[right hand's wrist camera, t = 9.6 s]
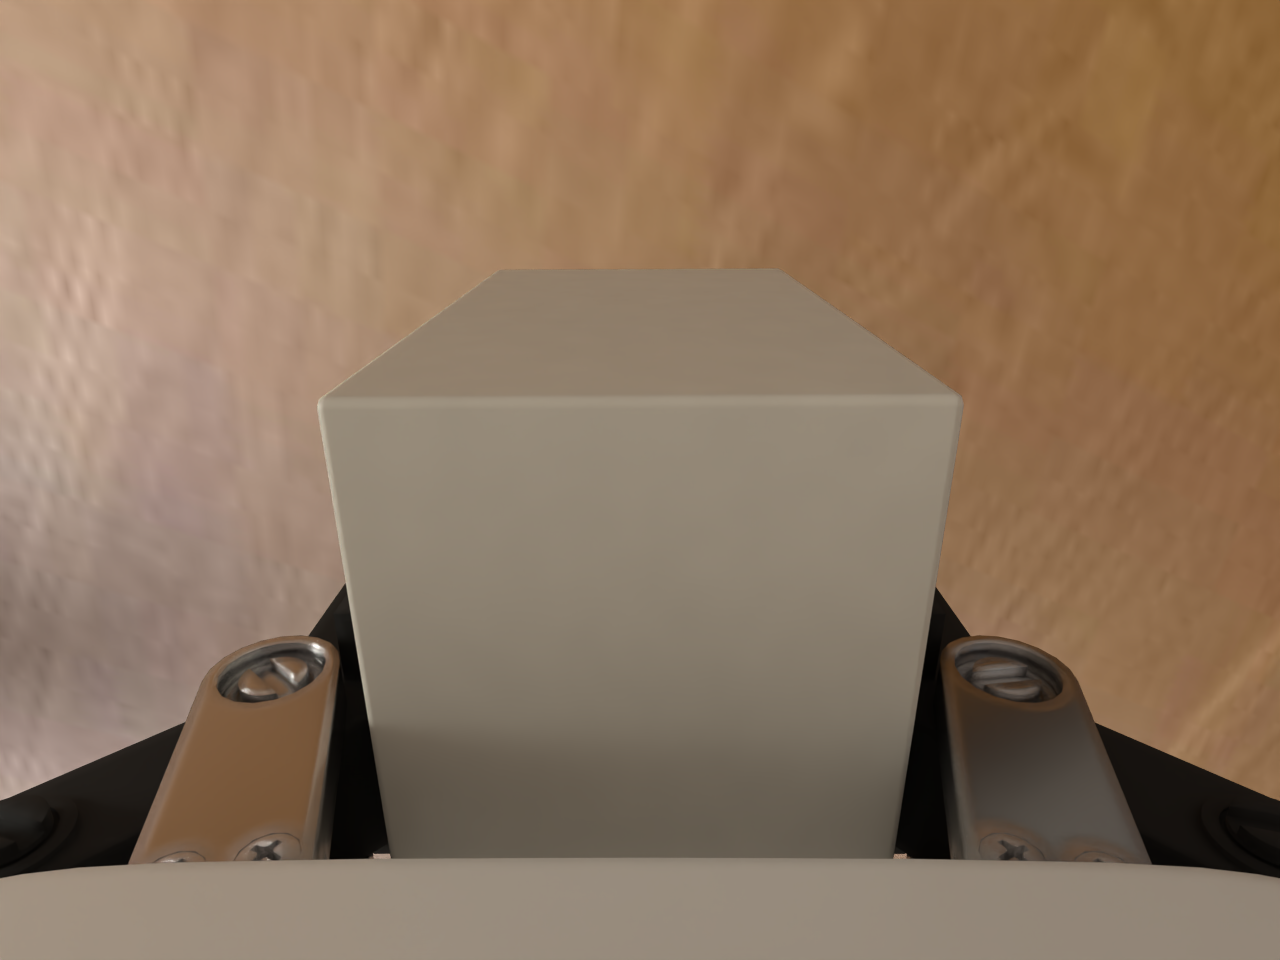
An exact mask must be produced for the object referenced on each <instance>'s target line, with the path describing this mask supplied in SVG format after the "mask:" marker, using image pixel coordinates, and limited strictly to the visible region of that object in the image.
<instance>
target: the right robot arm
mask: <svg viewBox="0 0 1280 960" xmlns="http://www.w3.org/2000/svg"><path fill="white" fill-rule="evenodd" d="M373 853H374V854H390V850H389V843H388V837H387V831H386V825H385V819H384V813H383V807H382V801H381V795H380V789H379V782H378V776H377V770H376V764H375V758H374V752H373V746H372V740H371V734H370V728H369V721H368V715H367V709H366V703H365V697H364V691H363V685H362V679H361V673H360V667H359V661H358V654H357V648H356V642H355V636H354V630H353V624H352V618H351V612H350V606H349V600H348V593H347V587H346V583H345V585H344V586H343V588H342V589H341V590H340V592H339V593H338V595H337V596H336V598H335V599H334V600H333V602H332V603H331V605H330V606H329V608H328V609H327V610H326V612H325V613H324V615H323V616H322V617H321V619H320V620H319V622H318V623H317V625H316V626H315V627H314V629H313V630H312V632H311V633H310V634H309V636H284V637H278V638H273V639H268V640H263V641H260V642H257V643H254V644H252V645H249V646H246V647H243V648H241V649H239V650H237V651H235V652H234V653H232V654H230V655H228V656H226V657H224V658H223V659H222V660H221V661H219V662H218V663H217V664H216V665H215V666H213V667H212V668H211V669H210V670H209V672H208V673H207V675H206V676H205V678H204V679H203V681H202V683H201V685H200V688H199V690H198V692H197V695H196V697H195V700H194V702H193V705H192V707H191V710H190V712H189V715H188V717H187V720H186V722H184V723H182V724H180V725H177V726H175V727H173V728H170V729H168V730H166V731H163V732H161V733H159V734H157V735H154V736H152V737H150V738H147V739H145V740H143V741H140V742H138V743H136V744H133V745H131V746H129V747H126V748H124V749H122V750H119V751H117V752H115V753H112V754H110V755H108V756H105V757H103V758H101V759H98V760H96V761H94V762H91V763H89V764H87V765H84V766H82V767H80V768H77V769H75V770H73V771H70V772H68V773H66V774H63V775H61V776H59V777H56V778H54V779H52V780H49V781H47V782H45V783H43V784H40V785H38V786H36V787H33V788H31V789H29V790H26V791H24V792H22V793H19V794H17V795H15V796H12V797H10V798H7V799H4V800H1V801H0V960H1280V801H1278V800H1276V799H1272V798H1269V797H1267V796H1265V795H1262V794H1260V793H1258V792H1255V791H1253V790H1251V789H1248V788H1246V787H1244V786H1241V785H1239V784H1237V783H1234V782H1232V781H1230V780H1227V779H1225V778H1223V777H1220V776H1218V775H1216V774H1213V773H1211V772H1209V771H1206V770H1204V769H1202V768H1199V767H1197V766H1195V765H1192V764H1190V763H1188V762H1186V761H1183V760H1181V759H1179V758H1176V757H1174V756H1172V755H1169V754H1167V753H1165V752H1162V751H1160V750H1158V749H1155V748H1153V747H1151V746H1148V745H1146V744H1144V743H1141V742H1139V741H1137V740H1134V739H1132V738H1130V737H1127V736H1125V735H1123V734H1120V733H1118V732H1116V731H1113V730H1111V729H1109V728H1106V727H1104V726H1102V725H1099V724H1097V723H1095V722H1094V720H1093V717H1092V715H1091V712H1090V710H1089V707H1088V705H1087V702H1086V700H1085V697H1084V695H1083V692H1082V690H1081V688H1080V685H1079V683H1078V681H1077V679H1076V678H1075V676H1074V675H1073V673H1072V672H1071V670H1070V669H1069V668H1068V667H1067V666H1065V665H1064V664H1063V663H1062V662H1061V661H1059V660H1058V659H1057V658H1056V657H1054V656H1052V655H1050V654H1048V653H1046V652H1045V651H1043V650H1041V649H1039V648H1037V647H1034V646H1031V645H1028V644H1026V643H1023V642H1020V641H1017V640H1012V639H1007V638H1002V637H996V636H970V635H969V633H968V632H967V630H966V629H965V628H964V626H963V625H962V623H961V622H960V621H959V619H958V618H957V616H956V615H955V613H954V612H953V611H952V609H951V608H950V606H949V605H948V604H947V602H946V601H945V599H944V598H943V596H942V595H941V594H940V592H939V591H938V589H937V588H936V587H935V593H934V600H933V606H932V612H931V619H930V625H929V632H928V638H927V645H926V651H925V657H924V664H923V670H922V677H921V683H920V690H919V696H918V702H917V709H916V715H915V722H914V728H913V734H912V741H911V747H910V754H909V760H908V767H907V773H906V779H905V786H904V792H903V799H902V805H901V812H900V818H899V824H898V831H897V837H896V844H895V850H894V854H905V853H906V854H907V858H906V859H838V858H442V859H374V858H373Z"/></svg>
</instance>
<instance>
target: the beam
mask: <svg viewBox="0 0 1280 960" xmlns="http://www.w3.org/2000/svg"><path fill="white" fill-rule="evenodd" d="M963 407H964V403H963V400H962V396H961V395H959V394H958V393H957V392H955V391H954V390H952V389H951V388H949V387H948V386H947V385H945V384H944V383H942V382H941V381H939V380H938V379H937V378H935V377H934V376H932V375H931V374H929V373H928V372H927V371H925V370H924V369H922V368H921V367H919V366H918V365H917V364H915V363H914V362H912V361H911V360H909V359H908V358H907V357H905V356H904V355H902V354H901V353H899V352H898V351H897V350H895V349H894V348H892V347H891V346H889V345H888V344H887V343H885V342H884V341H882V340H881V339H879V338H878V337H877V336H875V335H874V334H872V333H871V332H869V331H868V330H867V329H865V328H864V327H862V326H861V325H859V324H858V323H857V322H855V321H854V320H852V319H851V318H849V317H848V316H846V315H845V314H844V313H842V312H841V311H839V310H838V309H836V308H835V307H834V306H832V305H831V304H829V303H828V302H826V301H825V300H824V299H822V298H821V297H819V296H818V295H816V294H815V293H814V292H812V291H811V290H809V289H808V288H806V287H805V286H804V285H802V284H801V283H799V282H798V281H796V280H795V279H794V278H792V277H791V276H789V275H788V274H786V273H785V272H784V271H782V270H780V269H576V270H499V271H496V272H495V273H494V274H492V275H491V276H489V277H488V278H487V279H485V280H484V281H482V282H481V283H480V284H478V285H477V286H476V287H474V288H473V289H471V290H470V291H469V292H467V293H466V294H464V295H463V296H462V297H460V298H459V299H457V300H456V301H455V302H453V303H452V304H451V305H449V306H448V307H446V308H445V309H444V310H442V311H441V312H439V313H438V314H437V315H435V316H434V317H432V318H431V319H430V320H428V321H427V322H425V323H424V324H423V325H421V326H420V327H419V328H417V329H416V330H414V331H413V332H412V333H410V334H409V335H407V336H406V337H405V338H403V339H402V340H400V341H399V342H398V343H396V344H395V345H394V346H392V347H391V348H389V349H388V350H387V351H385V352H384V353H382V354H381V355H380V356H378V357H377V358H375V359H374V360H373V361H371V362H370V363H368V364H367V365H366V366H364V367H363V368H362V369H360V370H359V371H357V372H356V373H355V374H353V375H352V376H350V377H349V378H348V379H346V380H345V381H343V382H342V383H341V384H339V385H338V386H336V387H335V388H334V389H332V390H331V391H330V392H328V393H327V394H325V395H324V396H323V397H321V398H320V399H319V402H318V406H317V411H318V417H319V423H320V429H321V435H322V441H323V447H324V453H325V459H326V465H327V472H328V478H329V484H330V490H331V496H332V502H333V508H334V514H335V520H336V526H337V533H338V539H339V545H340V551H341V557H342V563H343V569H344V575H345V581H346V587H347V593H348V600H349V606H350V612H351V618H352V624H353V630H354V636H355V642H356V648H357V654H358V661H359V667H360V673H361V679H362V685H363V691H364V697H365V703H366V709H367V715H368V721H369V728H370V734H371V740H372V746H373V752H374V758H375V764H376V770H377V776H378V782H379V789H380V795H381V801H382V807H383V813H384V819H385V825H386V831H387V837H388V843H389V850H390V856H391V859H442V858H838V859H893V857H894V850H895V844H896V837H897V831H898V824H899V818H900V812H901V805H902V799H903V792H904V786H905V779H906V773H907V767H908V760H909V754H910V747H911V741H912V734H913V728H914V722H915V715H916V709H917V702H918V696H919V690H920V683H921V677H922V670H923V664H924V657H925V651H926V645H927V638H928V632H929V625H930V619H931V612H932V606H933V600H934V593H935V587H936V580H937V574H938V567H939V561H940V555H941V548H942V542H943V535H944V529H945V522H946V516H947V510H948V503H949V497H950V490H951V484H952V478H953V471H954V465H955V458H956V452H957V445H958V439H959V433H960V426H961V420H962V413H963Z"/></svg>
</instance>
